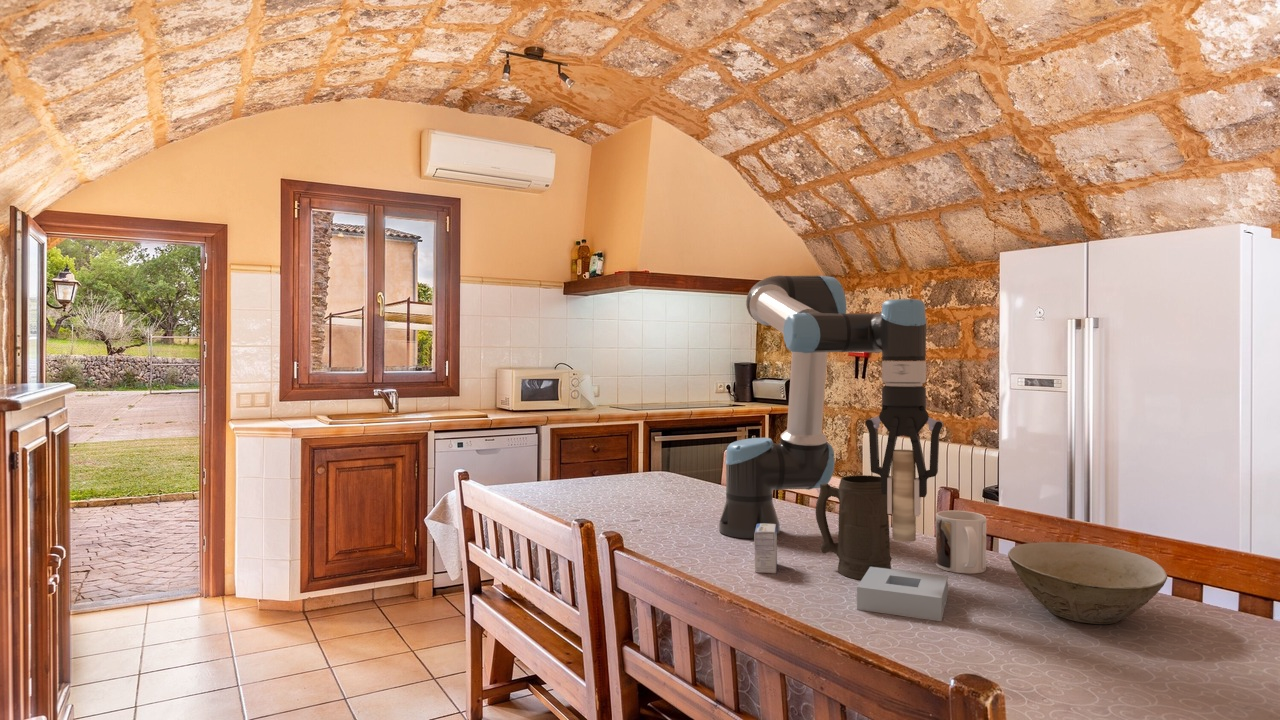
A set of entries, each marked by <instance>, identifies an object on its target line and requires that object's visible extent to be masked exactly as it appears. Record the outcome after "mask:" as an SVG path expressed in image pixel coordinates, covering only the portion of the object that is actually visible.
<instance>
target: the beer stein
mask: <svg viewBox="0 0 1280 720" xmlns="http://www.w3.org/2000/svg"><path fill="white" fill-rule="evenodd" d="M831 497H832V498H837V499H838V502H839V503H838V504H839V505H838V535H837V537H838V538H837V539H838V540H837V541H838V542H835V541H834V540H833V538H832V535H831V532H830V528H829V524H828V519H827V514H826V512H827V508H826V507H827V506H826V505H827V501H828V499H829V498H831ZM816 500H817V501H816V502H815V503H816V504H815V518H816V524H817V526H818V529H819V531H820V533H821V536H822V541H823V542H822V543H821V545H820V551H821V553H822V554H826V553H833V554H835V555H836V556H837V557H838V559H839V560H838V565H837V571H838V572H839V574H841V575H842V576H844V577H848V578H850V579H855V580H860V581H861V580H862V578H863V577H864V575H865V574H866V572H867V571H868V569H869V568H870V567H878V568H886V569H892V566H891V565H892V563H891V562H892V556H891V546H890V544H891V543H890V541H891V540H890V539H891V538H890V520H889V516H890V514H887V495H885V494H882V492H881V476H880V475H878V476H877V475H865V474H863V475H862V474H860V475H859V474H858V475H846V476H842V477H841V478H840V481H839V485H838V487H835V486H831V485H830V484H829V483H828V484H827V483H825V484H820V488H819V494H818V498H817V499H816Z"/></svg>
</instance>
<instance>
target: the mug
mask: <svg viewBox="0 0 1280 720" xmlns="http://www.w3.org/2000/svg"><path fill="white" fill-rule="evenodd" d="M935 565H936V567H937V568H939V569H941V570H944V571H947V572H952V573H955V574H969V575H970V574H982V573H984V572H985V571H986V569H987V517H986V515H984V514H981V513H978V512H973V511H967V510H966V511H965V510H950V509H949V510H940V511H938V512H936V513H935Z"/></svg>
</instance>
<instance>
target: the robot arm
mask: <svg viewBox="0 0 1280 720" xmlns="http://www.w3.org/2000/svg"><path fill="white" fill-rule="evenodd" d="M745 303H746V304H745V305H746V310H747V312H748V315H750V317H751V318H752V319H754V321H756V322H757V323H759V324H761V325H763V326H771V327H772V328H774V329H775V330H777V331H778V332H780V333H781V334H783V341H784V344H785V348H786V349H787V350H788V351H789V352H791V360H790V361H791V363H790V375H789V376H790V378H789V381H790V382H789V393H788V407H787V408H788V410H787V411H788V412H787V422H786V423H787V427H786V429H785V430H784V431H783V432H782V433H781V434H780V438H779V439H780V441H779V443H774V441H773V440H772V438H770V437H753V438H752V437H750V438H744V439H740V440H735V441H733V442H731V443H729V445H728V446H727V447H726V451H725V452H726V453H725V456H726V457H725V462H724V463H725V486H726V487H725V492H726V494H725V496H726V497H725V498H726V499H725V504H724V507H723V509H722V513H721V517H720V519H719V523H718V525H719V526H718V529H719V530H718V531H719V533H720V534H723V535H724V536H729V537H732V538H738V539H753V540H754V534H755V530H756V526H757V524H764V523H765V524H776V525H777V536H779V534H780V532H781V531H780V530H781V528H780V527H781V526H780V525H781V524H780V522H779V521H780V520H779V517H778V515H777V512H776V509H775V505H774V503H773V501H774V499H773V491H779V490H780V491H781V490H784V491H785V490H813V489H820V484H825V483H827V484H829V483H830V481H831V480H832V477H833V474H834V469H835V465H836V464H835V452H834V448H833V446H832V445H831V444H830V442H828V438H827V436H826V435H825V433H823V420H824V418H823V417H824V405H825V395H826V394H825V393H826V391H825V389H826V377H827V364H828V353H871V354H872V353H875V354H878V353H881V356H882V357H881V383H884V385H883V386H882V388H881V411H880V412H879V415H878V416H874V417H871V418H868V419H866V420H865V421H864V423H865V425H866V429H867V431H868V435H869V436H868V438H869V439H868V440H869V442H868V443H869V459H870V460H869V463H870V472H871V473H872V474H876V475H878V476H879V477H881V492H882V494H885V495H887V514H888V515H892V475H890V474H891V469H892V453H893V450H896V449H895V448H896V444H897V440H898V437H901V436H905V437H908V438H909V440H910V443H911V447H912V450H913V452H914V457H915V462H916V470H917V475H918V477H916V479H915V480H914V516H916V517H920V515H921V509H922V508H921V506H922V505H921V501H922V499H921V498H926V497H927V494H928V479H929V478H934V477H936V476H937V474H938V473H939V454H940V453H939V450H940V433H941V431H942V429H943V426H944V422H943V420H937V419H934V418H931V417H930V415H929V413H928V412H927V411H928V410H927V387H926V386H923V384H925V383H926V381H927V380H926V379H927V363H926V362H927V361H926V356H927V354H926V353H927V349H926V348H927V343H926V342H927V321H928V320H927V317H926V305H925V302H924V301H923V300H922V299H919V298H918V299H916V298H899V299H898V298H896V299H886V300H885V301H884V302H883V303H882V304H881V312H880V313H878V312H876V313H870V312H869V313H864V312H863V313H858V312H857V313H855V312H854V313H847V299H846V293H845V291H844V288H843V285H842V284H841V283H840V281H839V280H838V279H837V278H835V277H834V276H828V275H772V276H769V277H766V278H763V279H762V280H760V281H758V282H756V283H755V284H754V285H753V286H752V287H751V288H750V290H749V292H748V294H747V295H746V301H745ZM925 387H926V388H925ZM880 423H882V424H883V426H884V427H885V428H886V430H887V431H888V436H887V443H886V447H885V452H884V457H883V460H882V461H883V462H882V467H881V466H880V451H879V450H880V449H879V448H880V447H879V446H880V445H879V432H878V431H879V430H878V429H879V428H880V426H881V425H880ZM926 424H928V429H929V431H930V432H931V435H930V448H929V449H930V451H929V452H930V453H929V469H927V468H926V462H925V458H924V457H925V456H924V454H923V449H922V444H921V438H920V432H921V430H922V429H923V428H924V426H925V425H926Z"/></svg>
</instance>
